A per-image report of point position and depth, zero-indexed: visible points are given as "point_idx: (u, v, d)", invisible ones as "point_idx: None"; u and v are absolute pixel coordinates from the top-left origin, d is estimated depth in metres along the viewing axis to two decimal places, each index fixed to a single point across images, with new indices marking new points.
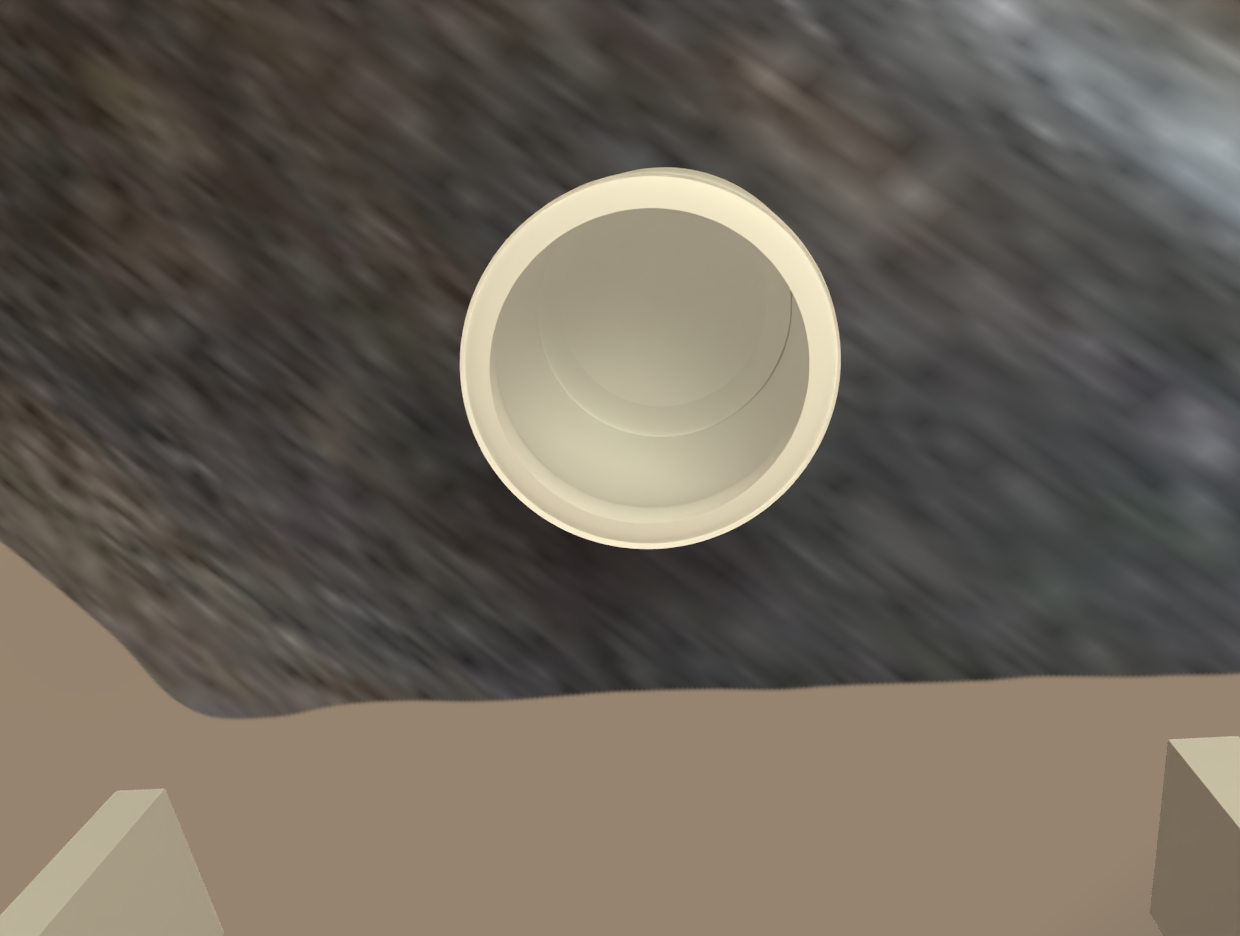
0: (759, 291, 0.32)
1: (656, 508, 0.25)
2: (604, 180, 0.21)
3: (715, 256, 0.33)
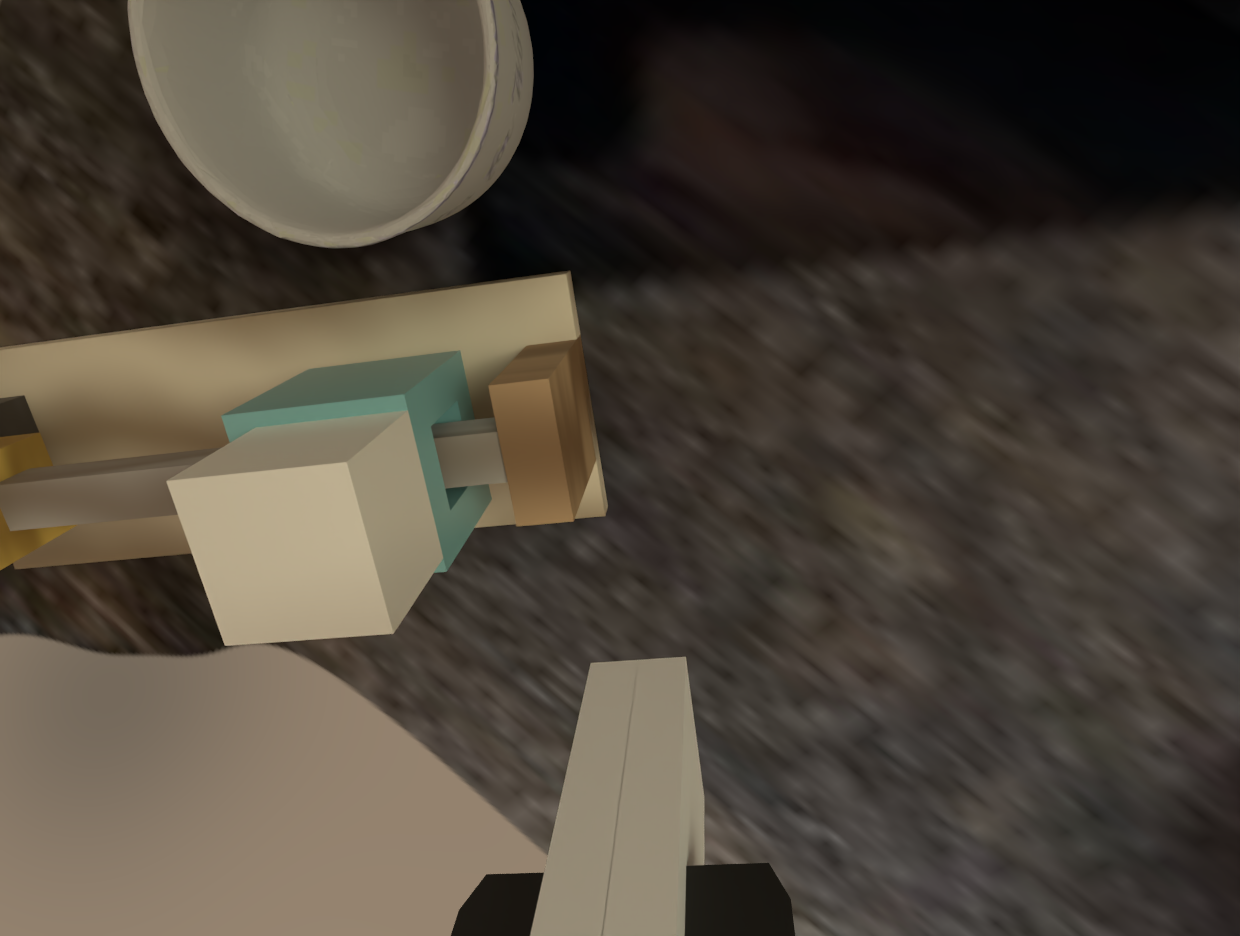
0: None
1: None
2: None
3: None
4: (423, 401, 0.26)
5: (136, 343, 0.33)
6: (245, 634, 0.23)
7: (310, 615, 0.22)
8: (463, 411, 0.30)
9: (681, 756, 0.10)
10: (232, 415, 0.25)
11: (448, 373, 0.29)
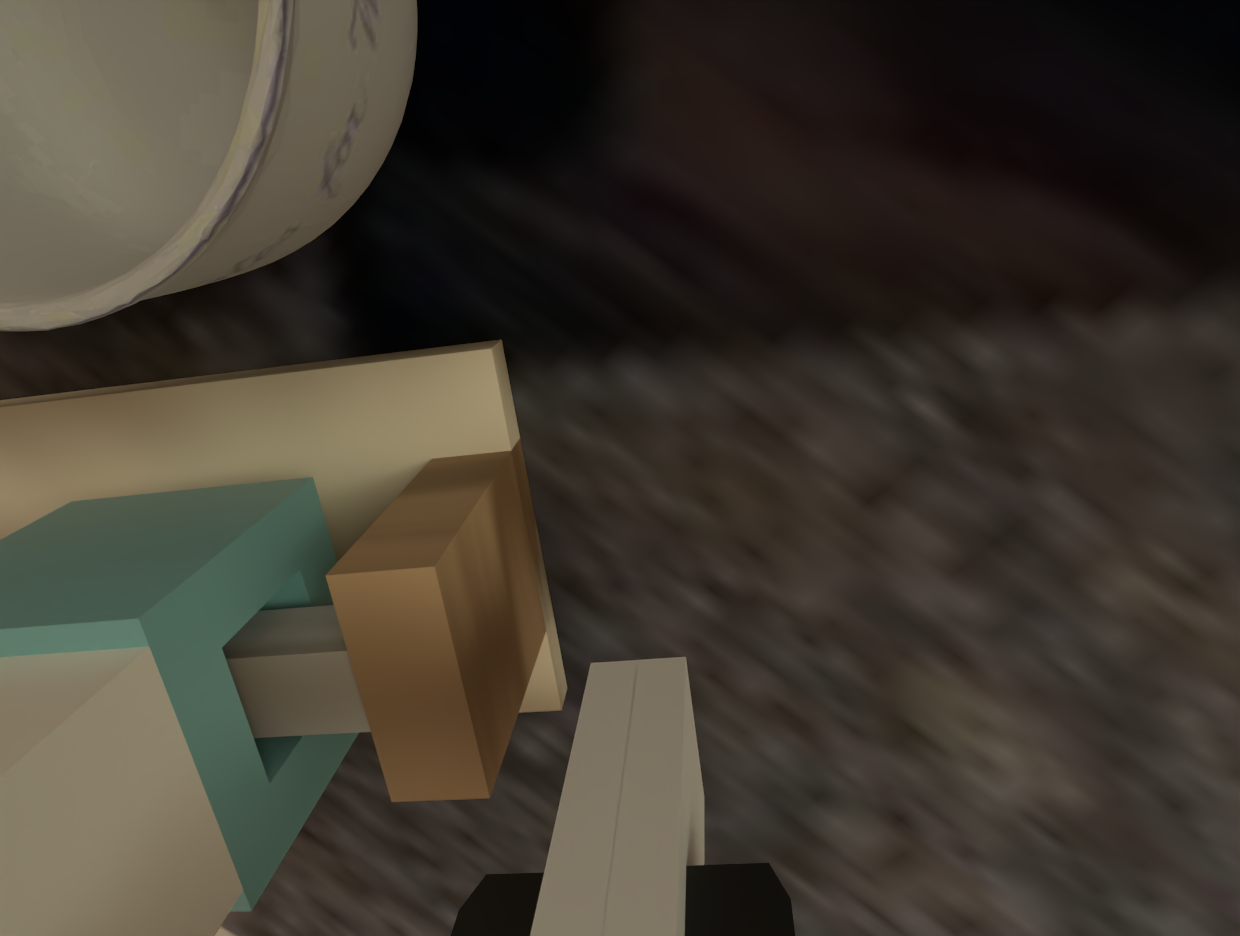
0: None
1: None
2: None
3: None
4: (204, 605, 0.14)
5: None
6: None
7: None
8: (314, 582, 0.18)
9: (681, 756, 0.10)
10: None
11: (279, 528, 0.17)
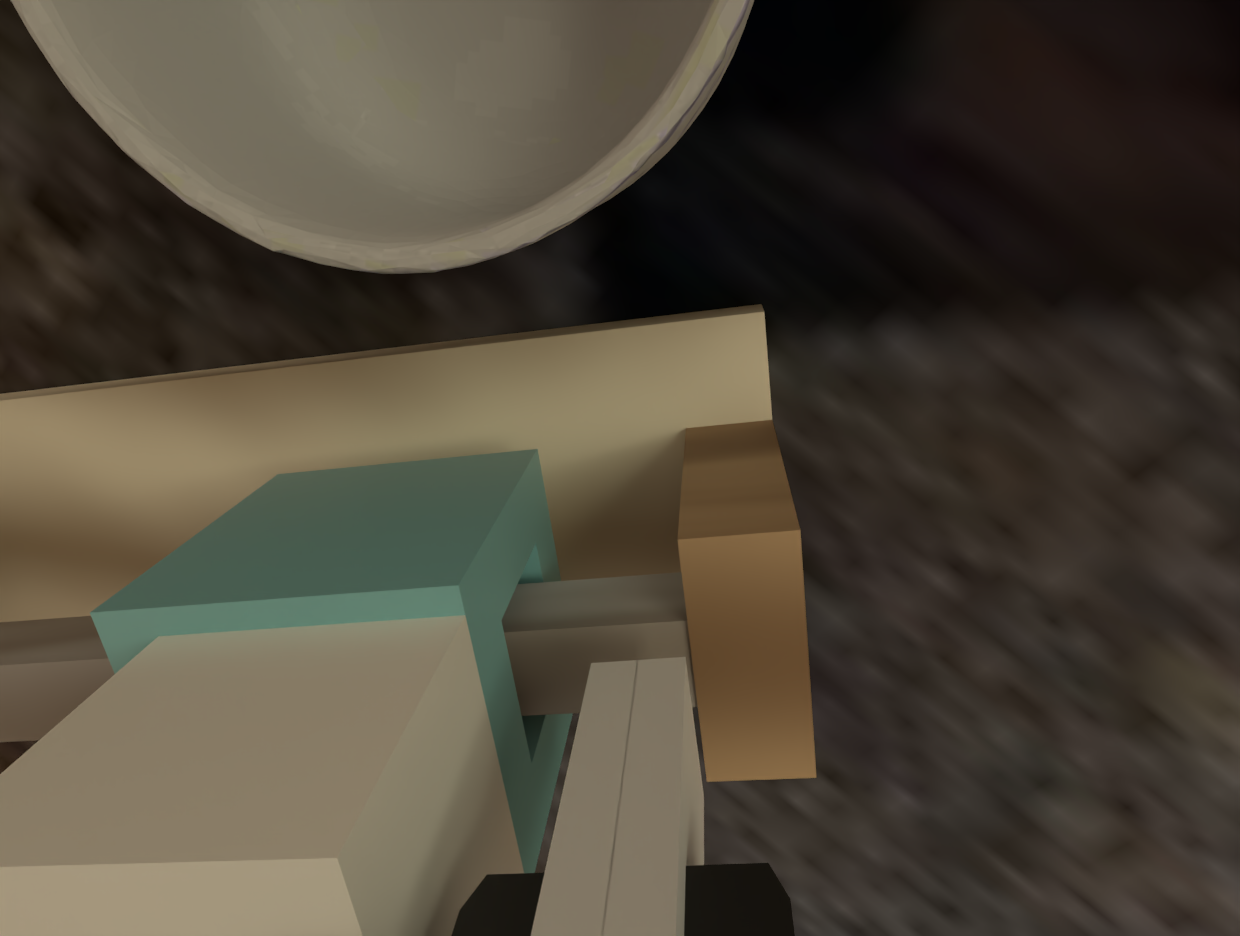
0: None
1: None
2: None
3: None
4: (489, 575, 0.14)
5: (41, 414, 0.21)
6: None
7: None
8: (543, 558, 0.17)
9: (681, 756, 0.10)
10: (112, 612, 0.13)
11: (523, 499, 0.16)
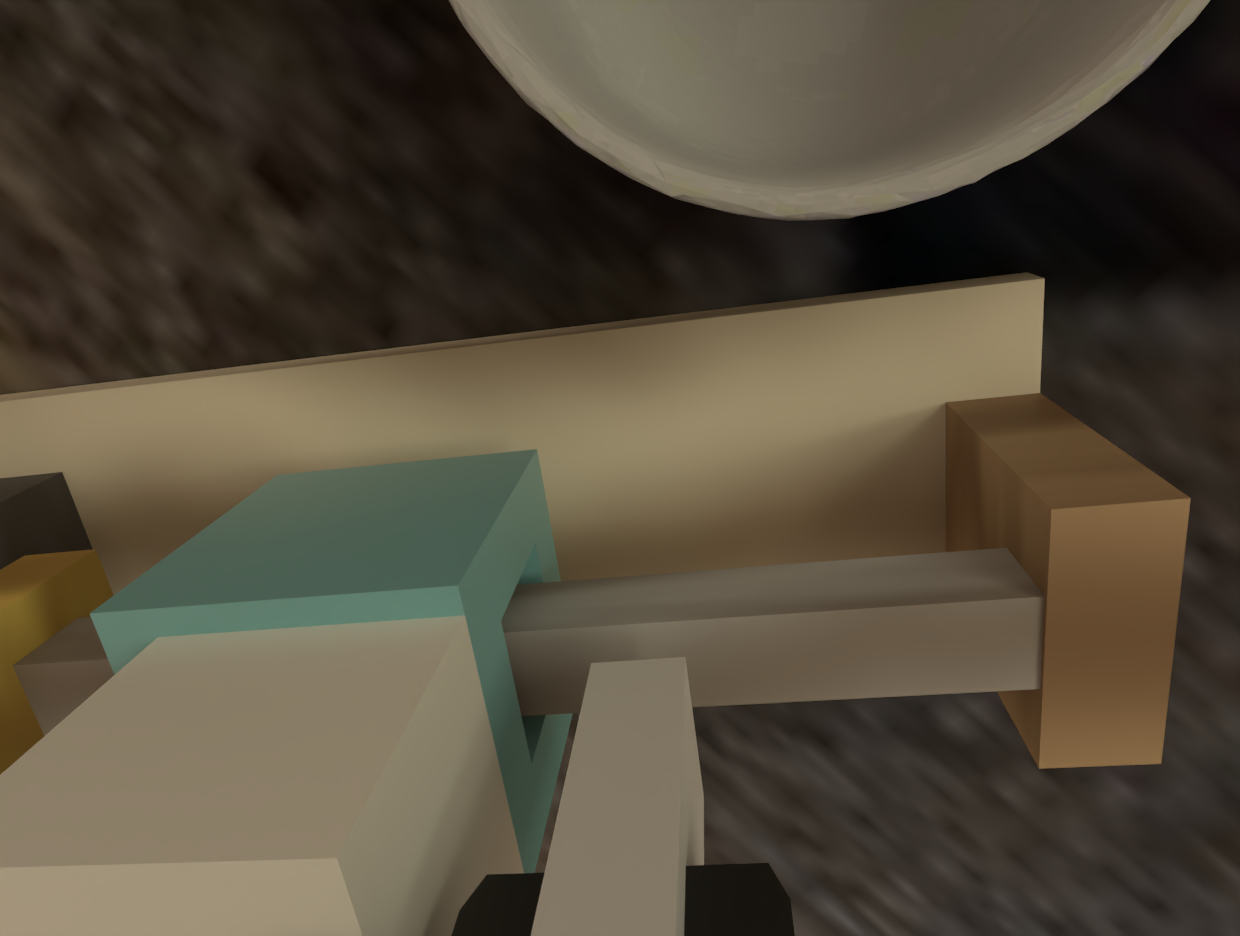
0: None
1: None
2: None
3: None
4: (489, 576, 0.14)
5: (255, 391, 0.20)
6: None
7: None
8: (543, 558, 0.17)
9: (681, 756, 0.10)
10: (111, 613, 0.13)
11: (523, 499, 0.16)
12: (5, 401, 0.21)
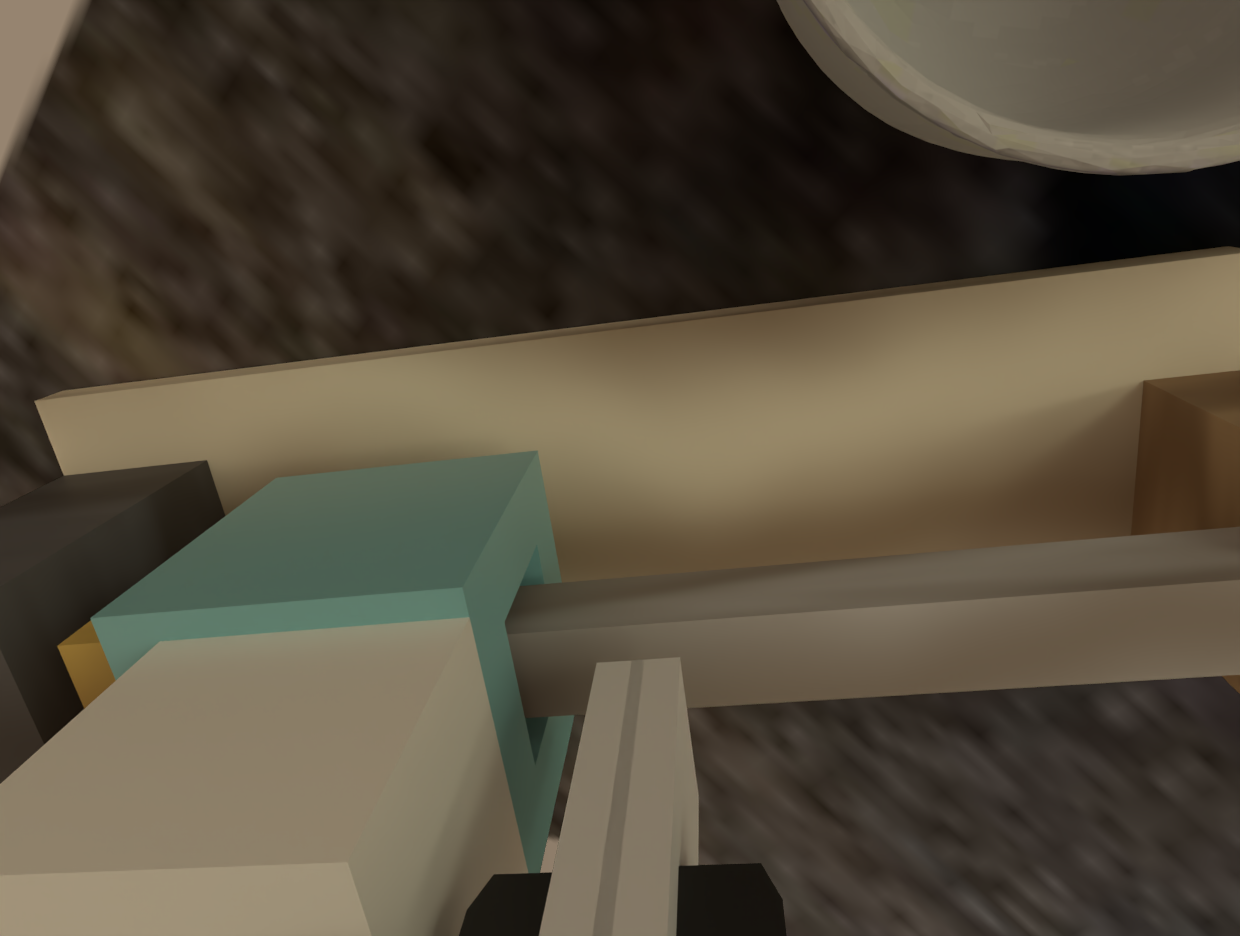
0: None
1: None
2: None
3: None
4: (492, 577, 0.13)
5: (417, 374, 0.19)
6: None
7: None
8: (544, 559, 0.17)
9: (674, 756, 0.10)
10: (113, 617, 0.13)
11: (524, 501, 0.16)
12: (151, 387, 0.20)
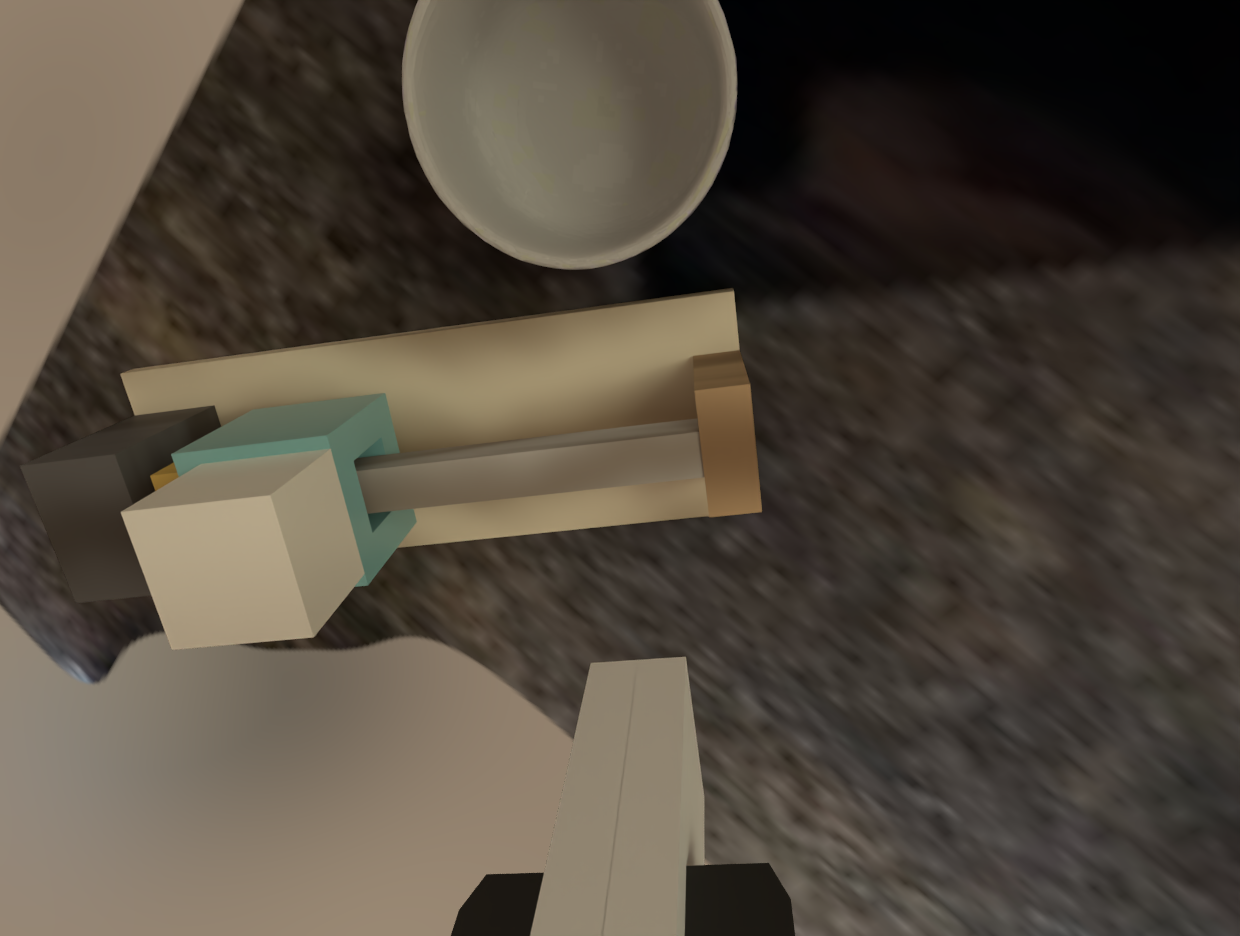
0: None
1: None
2: None
3: None
4: (346, 439, 0.31)
5: (326, 356, 0.36)
6: (189, 640, 0.27)
7: (243, 622, 0.27)
8: (386, 446, 0.34)
9: (681, 756, 0.10)
10: (181, 453, 0.30)
11: (372, 414, 0.33)
12: (184, 365, 0.37)
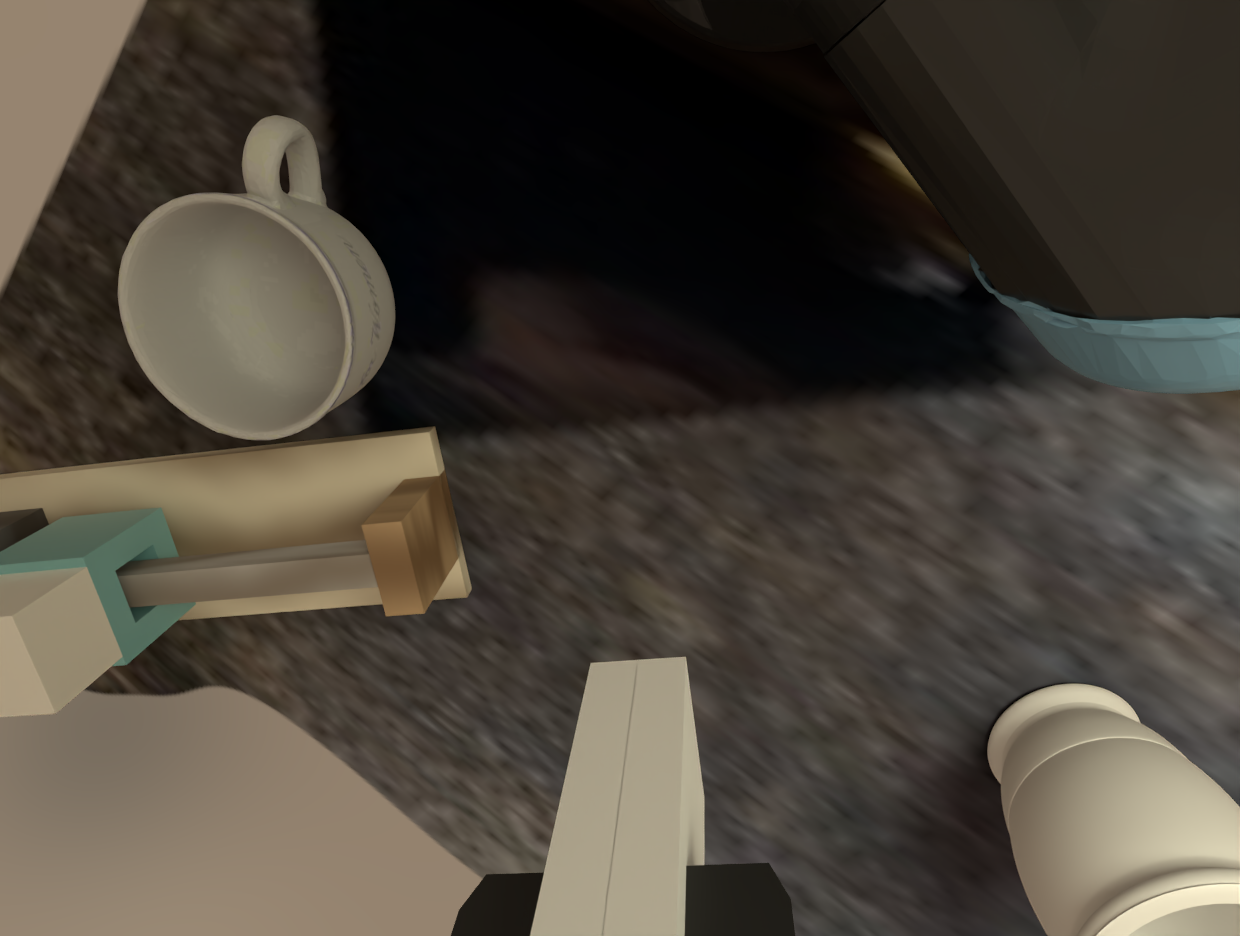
0: None
1: None
2: (1208, 884, 0.32)
3: None
4: (108, 555, 0.40)
5: (124, 473, 0.46)
6: None
7: (5, 702, 0.36)
8: (160, 550, 0.44)
9: (681, 756, 0.10)
10: None
11: (142, 528, 0.43)
12: (16, 477, 0.47)
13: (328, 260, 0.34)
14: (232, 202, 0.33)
